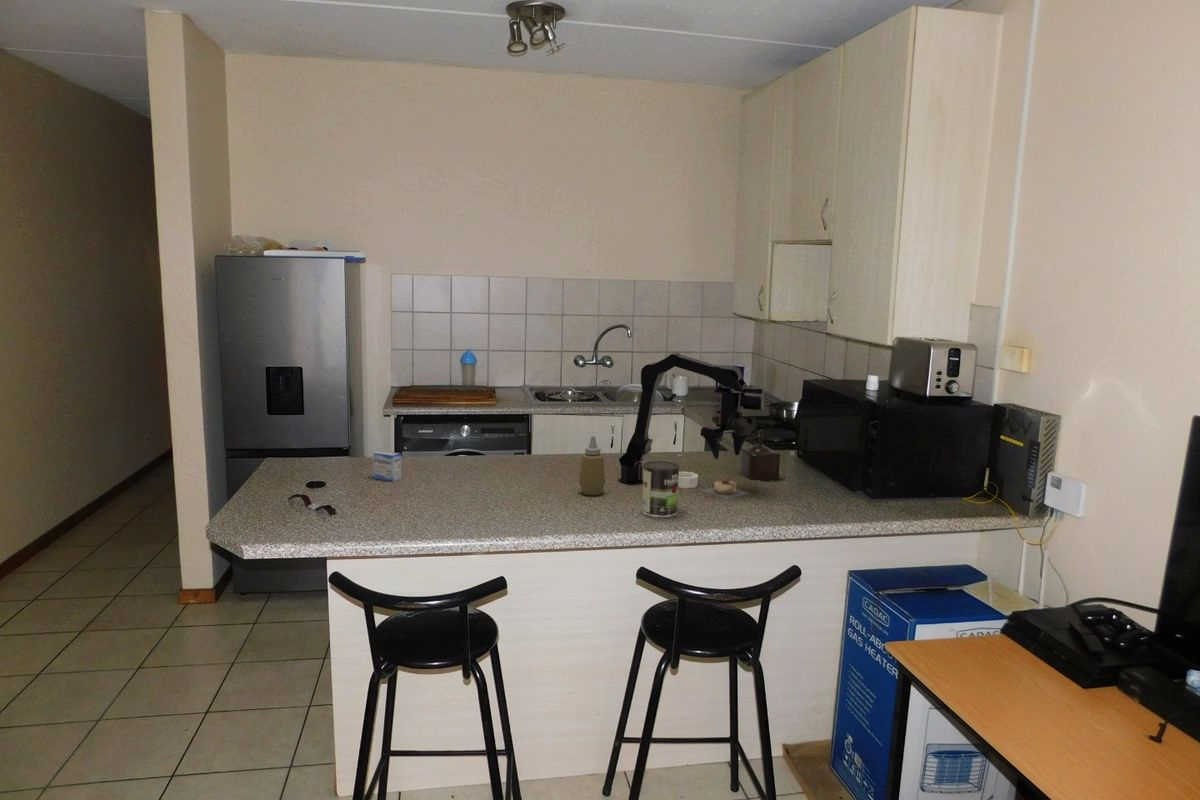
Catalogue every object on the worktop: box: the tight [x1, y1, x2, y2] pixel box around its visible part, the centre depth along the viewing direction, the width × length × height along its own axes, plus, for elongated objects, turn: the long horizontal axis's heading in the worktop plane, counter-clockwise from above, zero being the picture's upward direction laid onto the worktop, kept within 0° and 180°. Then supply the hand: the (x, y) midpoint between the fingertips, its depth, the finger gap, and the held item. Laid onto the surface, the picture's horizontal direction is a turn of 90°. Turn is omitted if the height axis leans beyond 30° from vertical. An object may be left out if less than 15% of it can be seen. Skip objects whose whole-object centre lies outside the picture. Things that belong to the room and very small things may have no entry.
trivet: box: [699, 487, 751, 500], centre depth 250 cm, size 11×11×1 cm
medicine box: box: [372, 450, 402, 482], centre depth 257 cm, size 8×4×9 cm, turn 68°
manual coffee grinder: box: [730, 429, 781, 482], centre depth 269 cm, size 16×11×18 cm
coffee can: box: [641, 460, 680, 519], centre depth 228 cm, size 10×10×14 cm
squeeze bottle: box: [578, 435, 606, 496], centre depth 245 cm, size 8×8×18 cm
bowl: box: [678, 471, 699, 489], centre depth 257 cm, size 8×8×4 cm
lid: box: [713, 476, 737, 495], centre depth 249 cm, size 7×7×5 cm
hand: (726, 456), depth 248 cm, fingers open, 9 cm apart
